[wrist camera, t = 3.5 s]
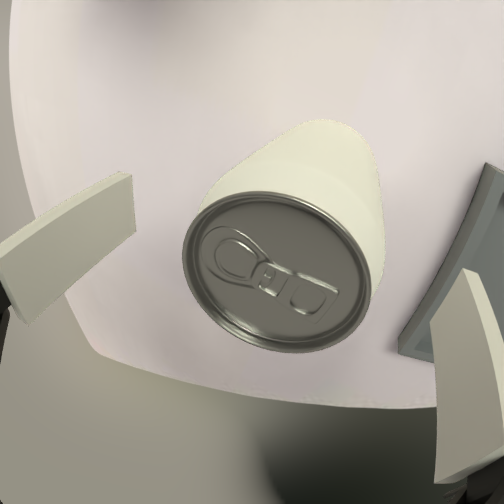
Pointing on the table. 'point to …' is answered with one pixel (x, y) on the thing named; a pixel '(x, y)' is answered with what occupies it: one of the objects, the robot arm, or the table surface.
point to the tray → (466, 264)
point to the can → (291, 241)
